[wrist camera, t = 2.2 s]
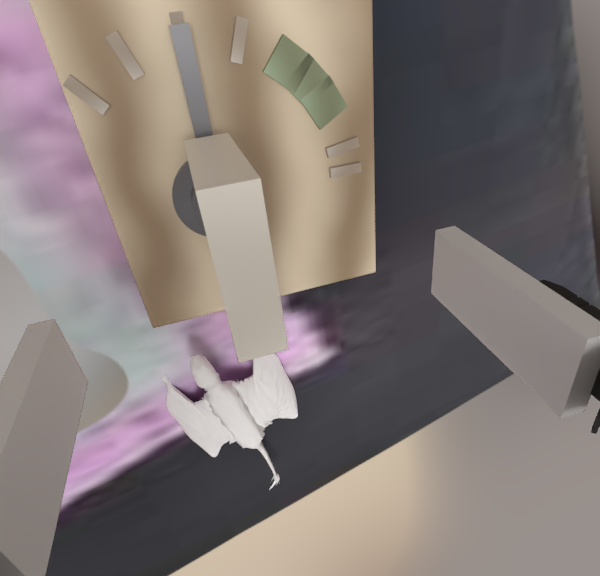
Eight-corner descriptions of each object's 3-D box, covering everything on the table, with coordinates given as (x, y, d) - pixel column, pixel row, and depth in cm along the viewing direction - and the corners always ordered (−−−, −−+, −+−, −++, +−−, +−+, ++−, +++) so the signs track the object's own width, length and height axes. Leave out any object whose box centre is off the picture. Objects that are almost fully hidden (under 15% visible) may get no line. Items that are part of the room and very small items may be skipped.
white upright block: (190, 261, 26) (206, 372, 18) (124, 31, 20) (96, 28, 11) (267, 243, 27) (319, 340, 18) (229, 17, 20) (282, 5, 12)
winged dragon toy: (319, 434, 43) (333, 469, 39) (227, 479, 42) (233, 518, 39) (251, 303, 32) (262, 334, 29) (129, 359, 32) (125, 398, 28)
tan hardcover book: (153, 307, 30) (153, 330, 28) (1, -107, 18) (-23, -128, 16) (362, 257, 33) (377, 273, 30) (349, -130, 21) (372, -151, 19)
